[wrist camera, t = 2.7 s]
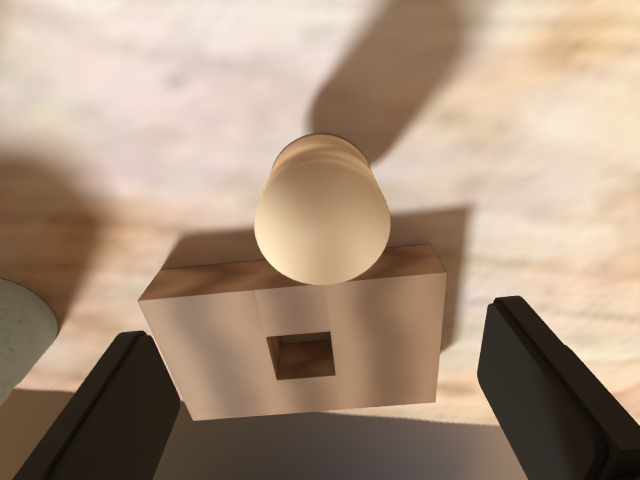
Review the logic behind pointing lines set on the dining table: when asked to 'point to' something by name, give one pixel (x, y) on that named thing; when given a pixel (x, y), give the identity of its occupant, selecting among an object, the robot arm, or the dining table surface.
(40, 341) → the grey green cup
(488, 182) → the dining table surface
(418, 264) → the walnut slab
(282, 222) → the wooden peg
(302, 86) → the dining table surface
